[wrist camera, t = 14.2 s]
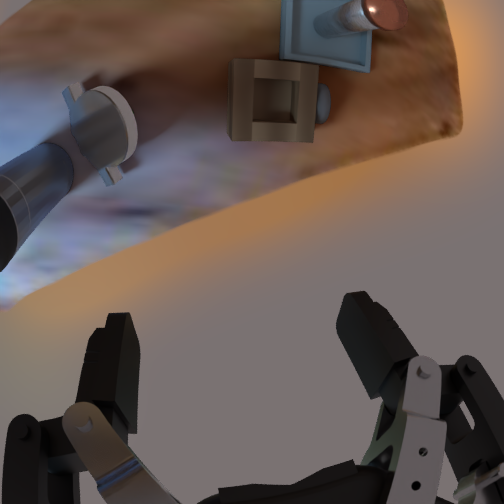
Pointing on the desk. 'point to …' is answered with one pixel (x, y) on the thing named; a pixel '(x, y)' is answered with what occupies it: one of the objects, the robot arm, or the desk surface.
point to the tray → (320, 38)
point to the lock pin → (361, 17)
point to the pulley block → (275, 100)
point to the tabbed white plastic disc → (102, 128)
